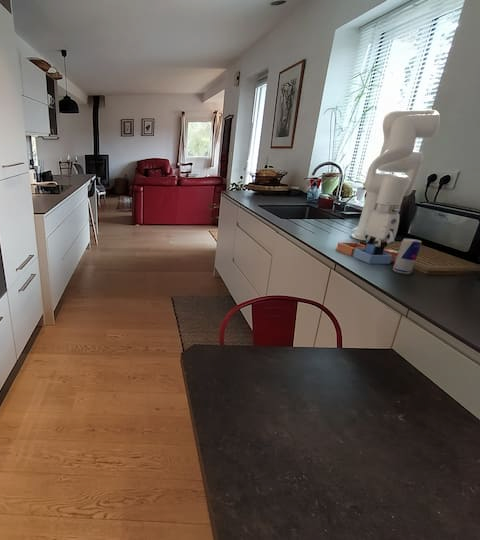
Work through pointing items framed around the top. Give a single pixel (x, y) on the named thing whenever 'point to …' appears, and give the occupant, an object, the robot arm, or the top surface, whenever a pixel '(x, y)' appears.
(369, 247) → the blue block
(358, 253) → the blue bin
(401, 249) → the energy drink
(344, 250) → the terracotta bin
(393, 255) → the terracotta block
